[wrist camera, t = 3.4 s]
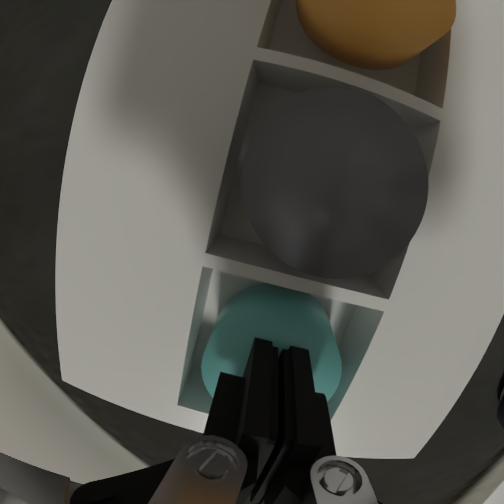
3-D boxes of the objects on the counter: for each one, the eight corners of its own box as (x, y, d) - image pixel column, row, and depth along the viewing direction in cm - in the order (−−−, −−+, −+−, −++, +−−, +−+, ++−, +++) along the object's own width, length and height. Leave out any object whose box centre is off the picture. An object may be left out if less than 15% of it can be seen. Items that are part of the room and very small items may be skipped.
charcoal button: (270, 91, 9) (268, 66, 6) (407, 134, 9) (444, 126, 6) (235, 231, 10) (221, 252, 7) (369, 266, 10) (395, 296, 7)
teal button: (228, 268, 11) (215, 296, 9) (347, 298, 11) (363, 331, 9) (206, 367, 12) (192, 406, 10) (309, 390, 12) (313, 432, 10)
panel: (184, -59, 8) (165, -96, 6) (511, 43, 8) (547, 29, 5) (93, 347, 14) (62, 380, 11) (398, 418, 14) (413, 458, 11)
